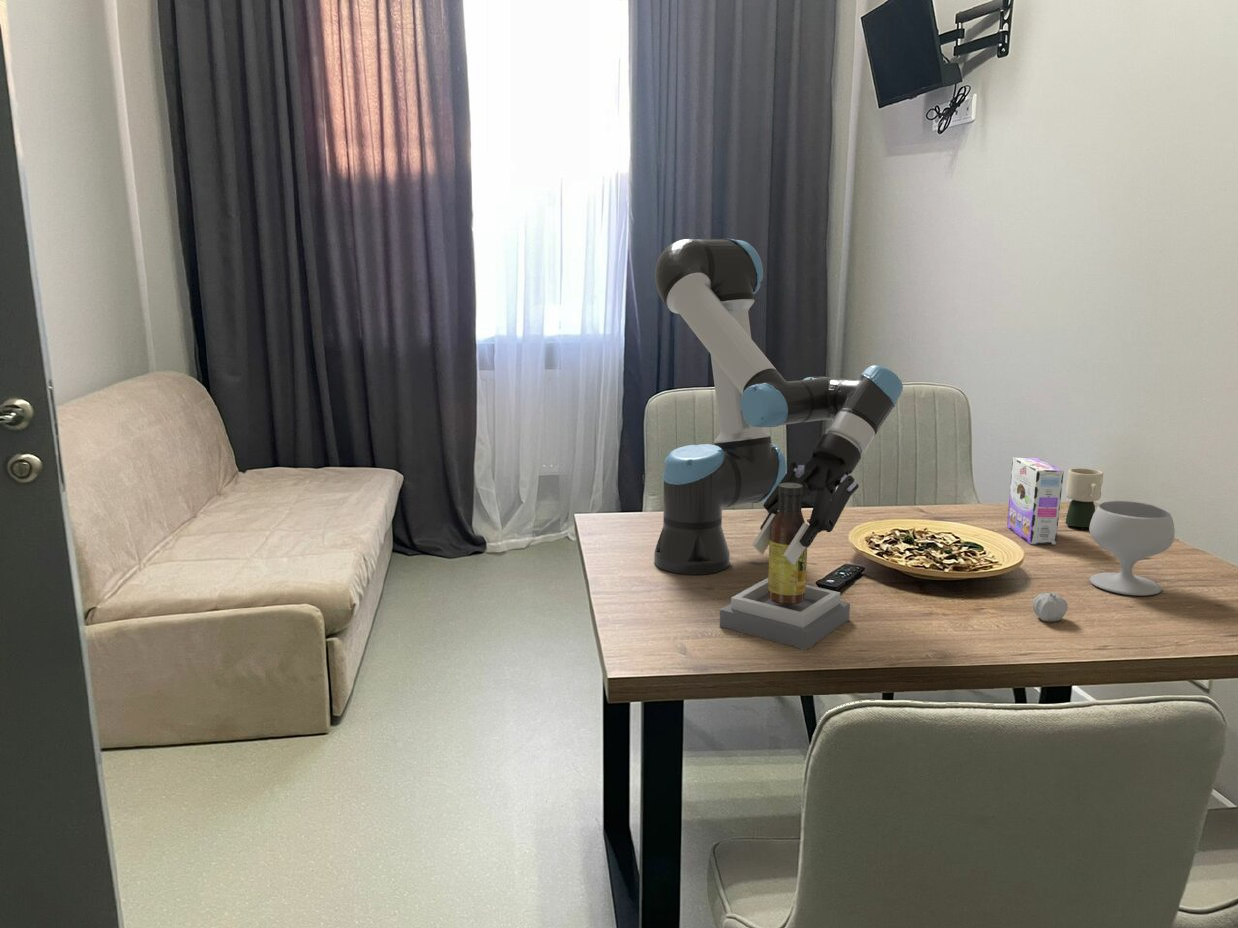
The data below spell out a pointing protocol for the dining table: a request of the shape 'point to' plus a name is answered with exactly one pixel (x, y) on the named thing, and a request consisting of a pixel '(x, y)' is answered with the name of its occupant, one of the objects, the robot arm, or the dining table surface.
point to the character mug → (1082, 495)
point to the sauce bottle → (782, 575)
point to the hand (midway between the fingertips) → (772, 554)
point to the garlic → (1049, 606)
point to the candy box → (1035, 500)
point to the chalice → (1130, 542)
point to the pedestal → (786, 615)
